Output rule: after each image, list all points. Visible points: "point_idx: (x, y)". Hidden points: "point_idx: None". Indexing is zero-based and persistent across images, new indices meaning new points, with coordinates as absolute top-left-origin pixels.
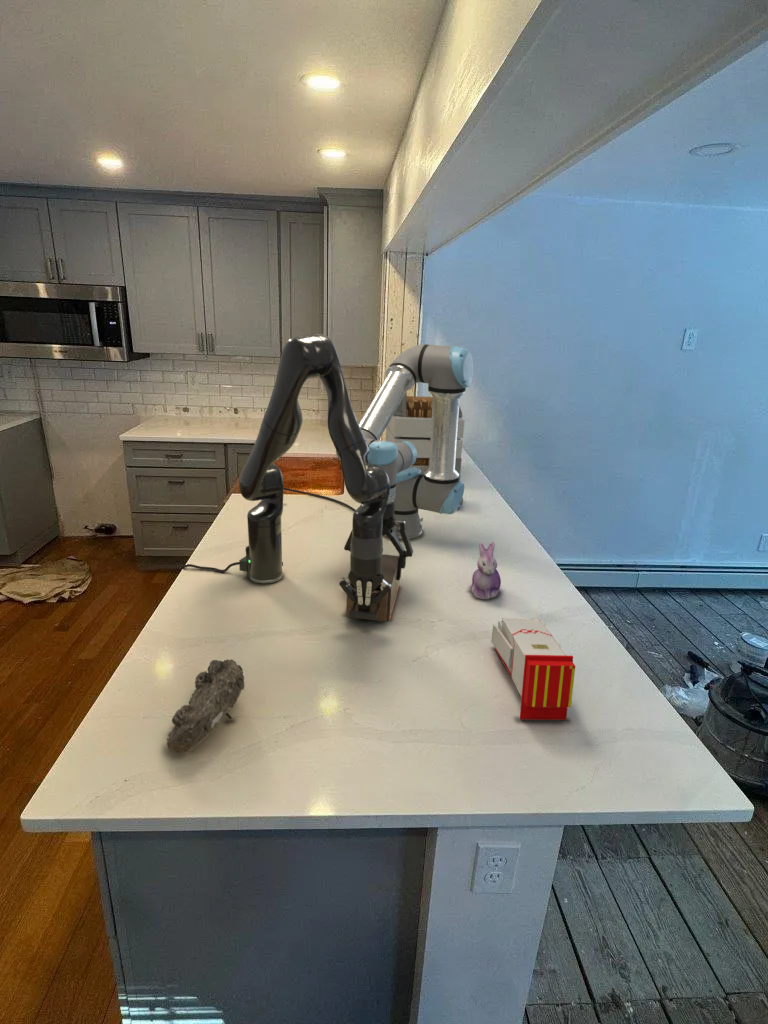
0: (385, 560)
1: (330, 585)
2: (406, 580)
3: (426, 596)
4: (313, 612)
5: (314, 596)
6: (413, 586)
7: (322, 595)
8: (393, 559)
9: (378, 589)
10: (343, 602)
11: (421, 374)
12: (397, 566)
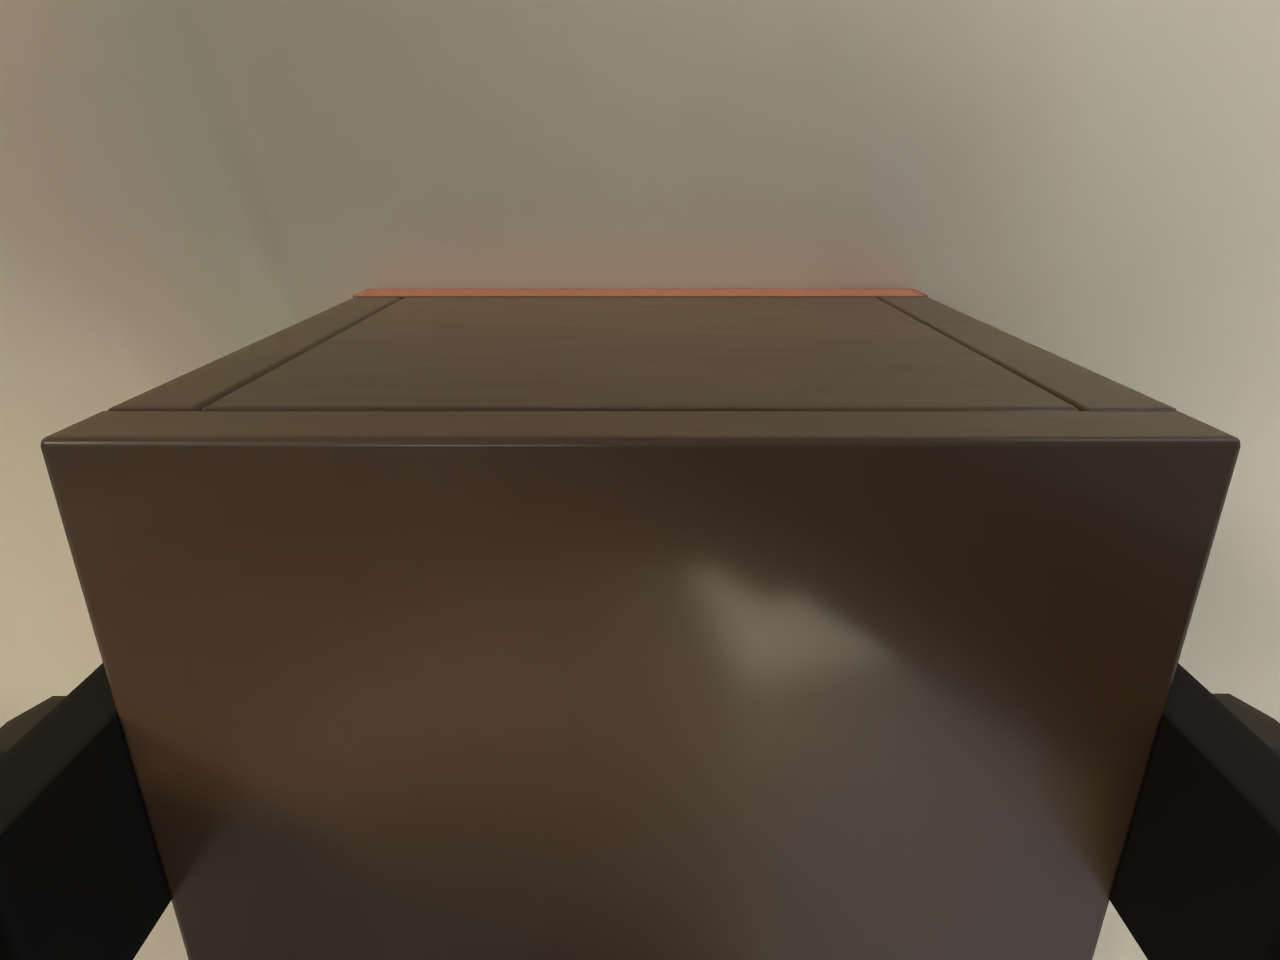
0: (817, 778)
1: (32, 441)
2: (1033, 17)
3: (1260, 449)
4: (157, 947)
5: (6, 712)
6: (1124, 206)
7: (73, 678)
8: (1020, 682)
9: None
10: None
11: None
12: (1091, 931)
